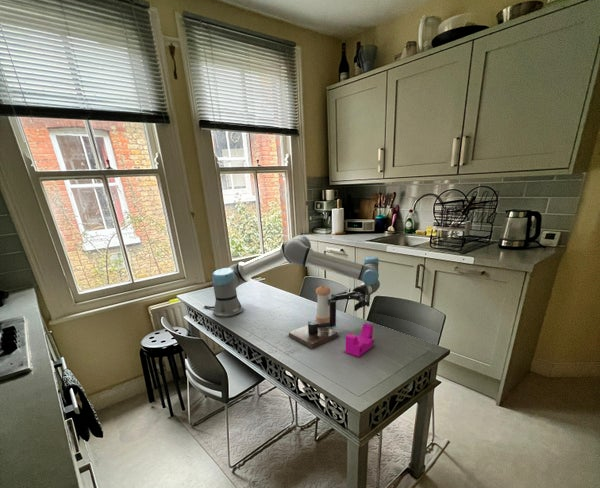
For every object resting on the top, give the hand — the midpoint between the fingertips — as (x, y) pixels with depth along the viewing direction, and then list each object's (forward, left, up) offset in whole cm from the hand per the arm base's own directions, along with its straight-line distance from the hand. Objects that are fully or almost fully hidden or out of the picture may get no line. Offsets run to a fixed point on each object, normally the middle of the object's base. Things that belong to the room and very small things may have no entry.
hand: (341, 305), depth 145 cm
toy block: (+18, -7, -12) cm, 23 cm away
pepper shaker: (-11, -1, -2) cm, 12 cm away
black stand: (-1, -12, -10) cm, 15 cm away
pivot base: (-4, -15, -12) cm, 19 cm away
